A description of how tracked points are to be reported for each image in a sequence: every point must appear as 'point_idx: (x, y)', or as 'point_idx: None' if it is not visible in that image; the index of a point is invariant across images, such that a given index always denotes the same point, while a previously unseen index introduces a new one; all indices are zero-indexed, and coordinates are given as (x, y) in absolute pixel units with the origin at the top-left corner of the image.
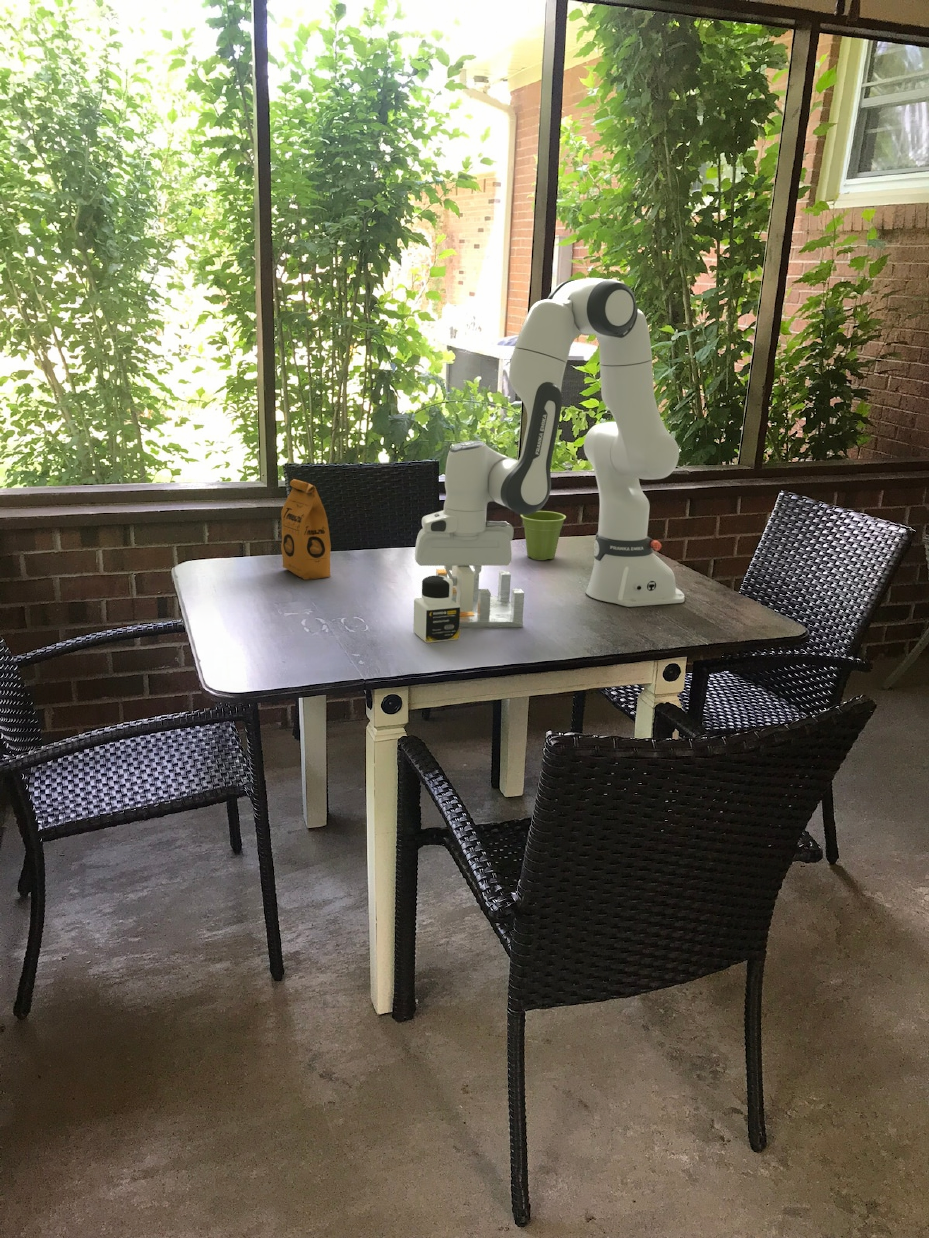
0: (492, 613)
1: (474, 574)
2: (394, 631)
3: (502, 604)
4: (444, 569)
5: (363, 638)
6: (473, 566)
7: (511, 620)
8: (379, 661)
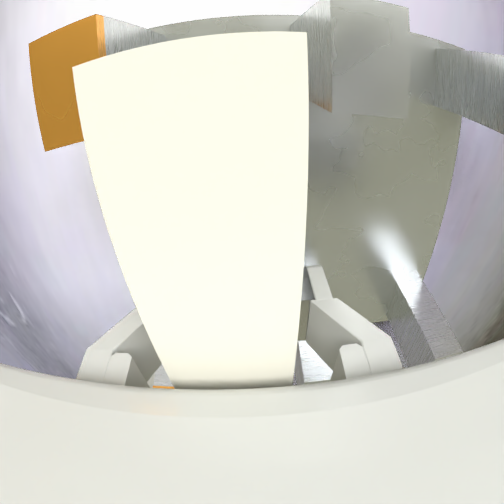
0: (354, 260)
1: (323, 351)
2: (72, 331)
3: (427, 154)
4: (87, 19)
5: (43, 352)
6: (339, 363)
7: (384, 313)
8: None
